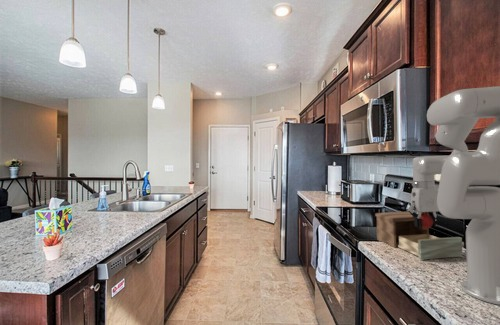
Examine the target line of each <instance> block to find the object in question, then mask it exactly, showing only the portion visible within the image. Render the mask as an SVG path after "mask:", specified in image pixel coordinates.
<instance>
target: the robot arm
mask: <svg viewBox="0 0 500 325" xmlns="http://www.w3.org/2000/svg"><path fill="white" fill-rule="evenodd" d="M491 118H495V120H494V121H492V123H490V124H489V125H488V126H487V127H486V128H485V129H484V130H483V132H482V133H481V135H480V137H479V142H478V147H477V149H476V150H474V151H469V148H468V145H467V144H466V142H465V141H466V140H467V138H468V136H469V135H470V133H471V132H472V130H473V128H474V127H475V126H476V125H477V122H478V121H479V120H480V119H491ZM426 120H427V122H428V124H430V125H431V126H435V127H436V126H437V127H438V126H439V127H438V129H437V130H436V132H435V135H434V138H435V140H436V141H437V143H439V145H442V146H444V147H447V148H450V149H452V150H453V151H452V152H451V154H449V155H426V156H425V155H423V156H416V157H414V158H413V159H412V183H411V186H412V189H411V193H410V194H411V196H410V206H409V207H408V208H407V211H408V212H410V214H411V215H412V216H413V217H414V225H415V227H418V228H422V219H420V217H421V213H423V212H426V213H427V214H429V215H430V216H431V217H432V219H433V225H432V226H431V227H433V228H436V226H437V224H436V220H437V219H436V218H437V217H438V214H441V215H442V216H443V217H446V218H449V219H455V220H470V222H469V223H468V225H467V226H466V229H465V250H466V251H465V254H466V256H465V258H466V277H467V278H466V279H465V280H463V281H462V282H460V288H461V290H462V291H463V292H464V293H465V294H467V295H469V296H471V297H473V298H474V299H478V300H480V301H483V302H487V303H490V304H492V305H499V306H500V187H497V186H500V85H498V86H489V87H488V86H486V87H477V88H476V87H475V88H473V87H472V88H463V89H458V90H455V91H451V92H450V93H448V94H445V95H444V96H442V97H440V98H438V99H436V100H434V101H433V102H432V103H431V105H429V108H428V109H427V111H426ZM435 175H440V178H439V185H438V189H437V188H436V184H435V183H436V182H435ZM417 213H418V214H417Z"/></svg>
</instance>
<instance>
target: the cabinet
mask: <svg viewBox="0 0 500 325" xmlns="http://www.w3.org/2000/svg"><path fill="white" fill-rule="evenodd" d="M374 215H375V217H376V241H379V242H381V241H382V242H381V243H383V242H384V243H383V244H385V243H386V244H385V245H387V244H388V246H389V245H390V246H389V247H392V248H395V247H396V248H397V240H399V236H405V235H419V234H429V235H430V228H428V229H426V230H425V229H423V228H418V227H415V225H414V217H413V216H412V215H411V214H410V212H408V210H407V211H405V210H404V211H393V212H391V211H390V212H375V214H374ZM396 248H395V249H396Z"/></svg>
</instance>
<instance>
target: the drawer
mask: <svg viewBox="0 0 500 325" xmlns="http://www.w3.org/2000/svg"><path fill="white" fill-rule="evenodd" d="M397 247H398V249H399V248H400V249H401V250H404V251H407V252H408V253H411V254H413V255H415V256H417V257H418V260H421V261H422V260H432V259H446V258H454V257H455V258H456V257H463V237H460V236H452V237H437V236H434V235H431V234H430V233H429V234H419V235H405V236H399V239H398V244H397Z"/></svg>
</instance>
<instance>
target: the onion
mask: <svg viewBox="0 0 500 325" xmlns="http://www.w3.org/2000/svg"><path fill="white" fill-rule="evenodd" d="M420 219H422V228H423V229H425V230H426V229H428V228H429V229H431V227H432V225H433V219H432V217H431V216H430V215H429V214H428V212H422V213H421V217H420Z"/></svg>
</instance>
